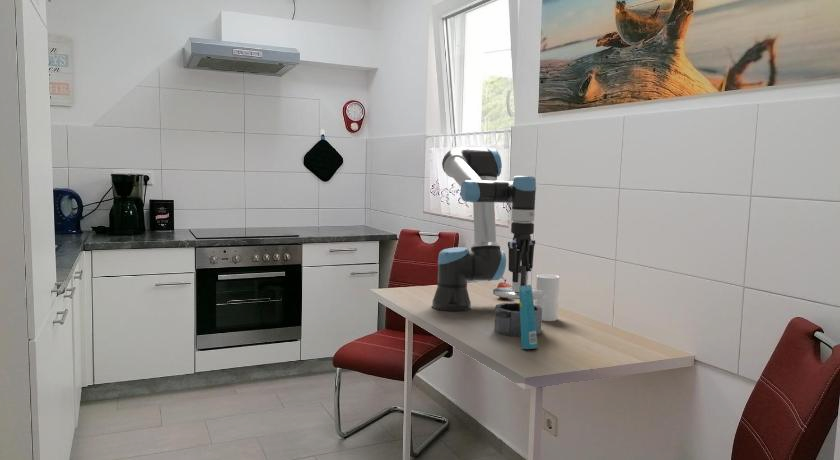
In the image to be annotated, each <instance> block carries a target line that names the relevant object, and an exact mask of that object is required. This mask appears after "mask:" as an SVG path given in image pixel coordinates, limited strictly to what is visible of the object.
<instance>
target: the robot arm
mask: <svg viewBox="0 0 840 460" xmlns="http://www.w3.org/2000/svg"><path fill="white" fill-rule="evenodd" d="M502 163H503V162H502V158H501V155H500V153H499V151H498V150H497V149H496V148H493V147H477V146H476V147H473V146H472V147H471V146H458V147H457V146H456V147H454V148H452V149H450V150H449V151H447V152H446V153H445V155H444V156H443V159H442V162H441V165H442V169H443V171H444V173H445V175H446V176H448V177H449V178H453V179H454V180H455V182H456V183H457V184H458V186H460V196H461V200H462V201H463V202H466V203H467V202H468V203H472V208H473V209H472V210H473V212H472V213H473V234H474V236H473V237H474V243H473V244H472V246H471V247H470V250H471V251H470V250H469V248H468V247H459V246H457V247H449V248H444V249H442V250H440V251H439V254H438V258H437V287H436V290H435V293H434V296H433V298H432V305H433V306H432V305H431V306H432V308H434V307H435V308H434V309H436V308H437V310H439V309H440V311H447V312H463V311H468V310H470V309H471V306H472V303H471V299H470V295H469V290H468V282H470V281H471V282H472V281H473V282H474V281H477V282H478V281H480V282H481V281H486V282H487V281H488V282H491V281H498V280H500V279H502V278H501V277H503V276H504V274H505V271H506V267H507V256H506V252H505V251H503V250H501V245H500V244H499V243H497V234H496V232H497V231H496V229H497V228H496V212H495V211H496V210H495V209H496V208H495V206H496V205H495V203H504V204H505V203H507V204H508V203H510V204H511V218H510V219H511V221H512V222H511V224H510V225H511V226H510V233H511V234H513V237H512V240H511V241H507V247H508V271H509V273H512V278H511V280H512V285H511V286H512V291H514V292H519V286H520V283H521V273H519V271H520V265H526V282H525V286H526V285H528V282H529V281H528V279H529V272H532V269H533V266H534V254H535V253H534V251H535V245H536V240H535V239H532V236H531V235H533V234H534V231H535V224H534V223H533V222H535V207H536V205H535V204H536V191H537V185H536V184H537V182H536V181H537V180H536V177H534V176H529V175H528V176H527V175H515V176H514V177H513V179H512V180H498V177H500V175H501V174H502V168H503V167H502Z"/></svg>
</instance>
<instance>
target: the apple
mask: <svg viewBox="0 0 840 460" xmlns="http://www.w3.org/2000/svg"><path fill="white" fill-rule="evenodd" d="M500 279H502V280H504V282H501V281H500V282H499V283H498V285H497V287H496V288H500V287H512V285H511V284H509V283H507V282H506V281H507V279H506V278H504V277H503V276H502V277H501V278H500ZM498 297H499V298H500V299H501V298H503V299H502V300H507V298H504V297H500V296H498Z"/></svg>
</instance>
